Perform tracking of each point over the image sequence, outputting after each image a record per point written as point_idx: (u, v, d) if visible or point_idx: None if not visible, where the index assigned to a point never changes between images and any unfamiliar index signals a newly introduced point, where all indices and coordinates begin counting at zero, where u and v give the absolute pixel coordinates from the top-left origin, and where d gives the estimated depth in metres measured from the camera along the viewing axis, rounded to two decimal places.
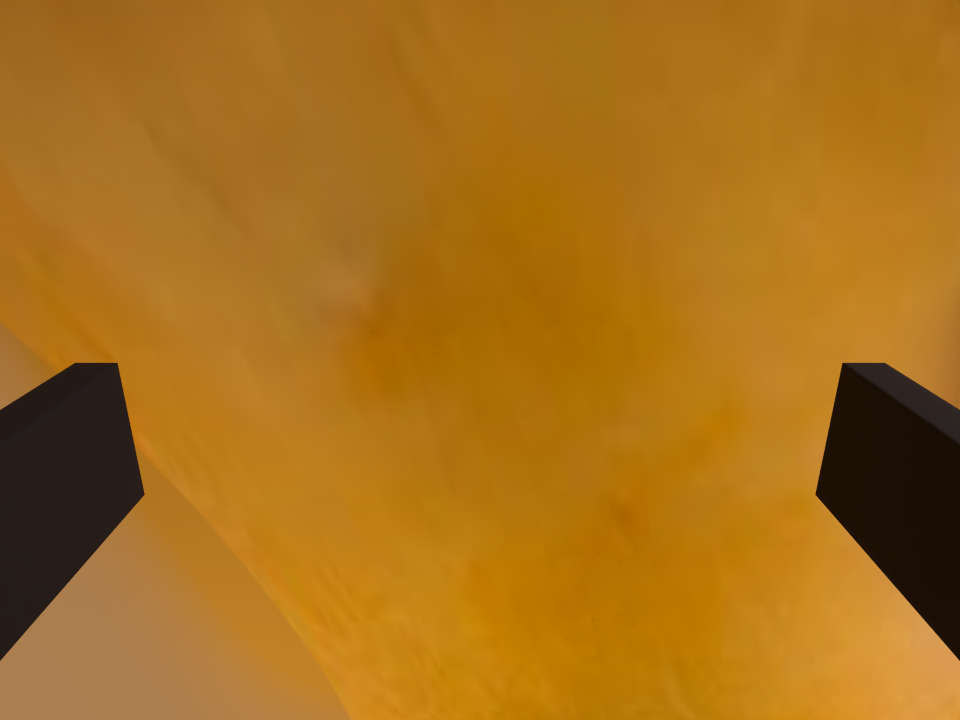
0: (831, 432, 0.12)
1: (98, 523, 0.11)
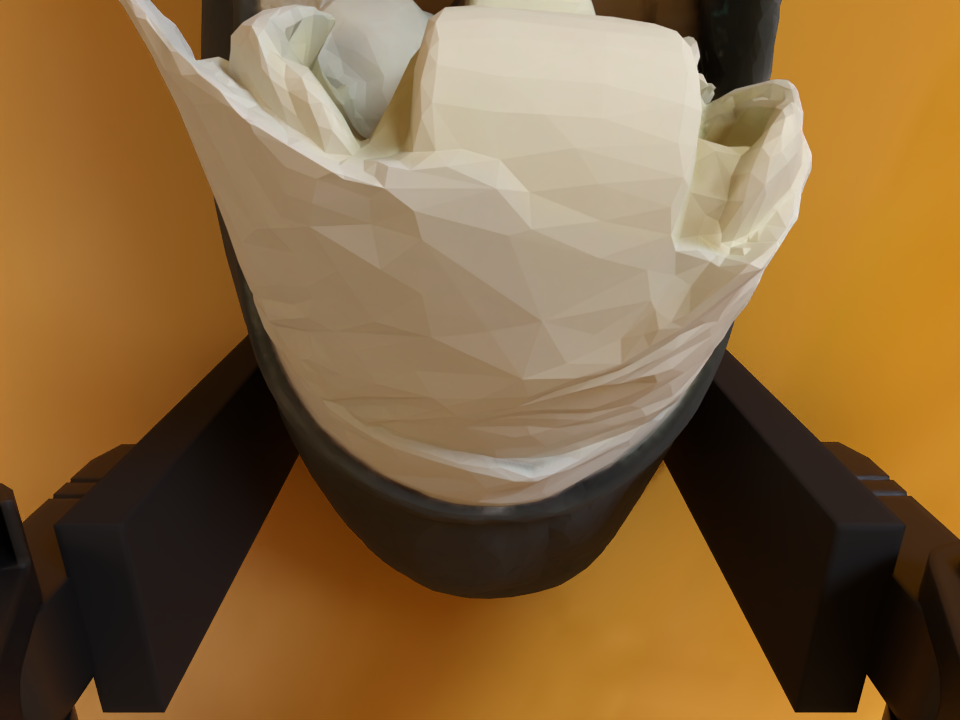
0: None
1: (277, 475, 0.13)
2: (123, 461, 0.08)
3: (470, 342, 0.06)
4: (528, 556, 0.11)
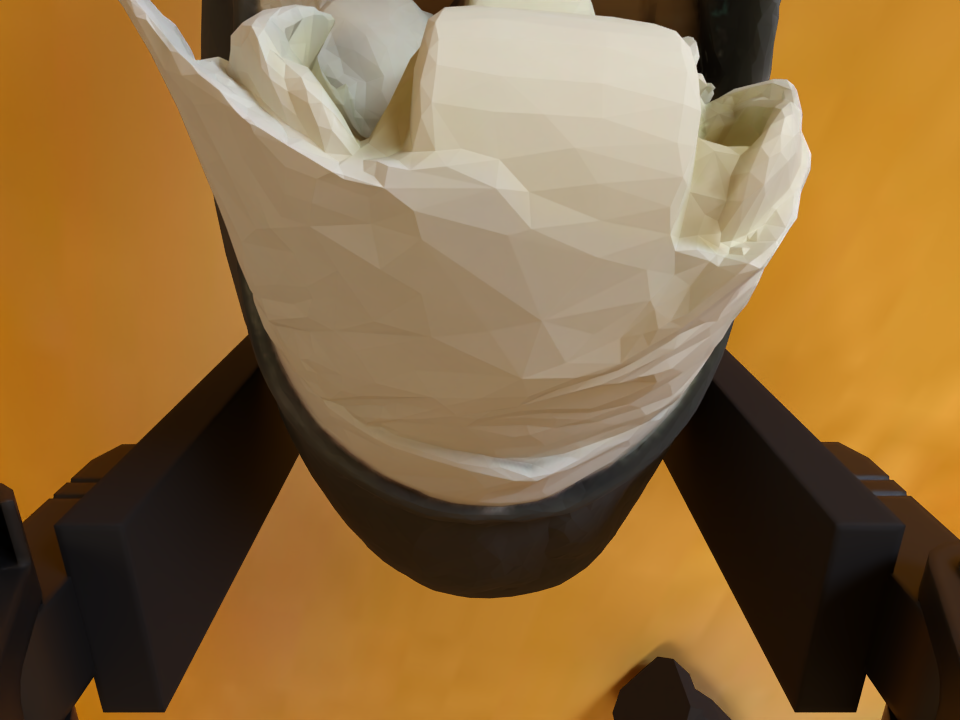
0: None
1: (277, 475, 0.13)
2: (123, 462, 0.08)
3: (470, 344, 0.06)
4: (528, 555, 0.11)
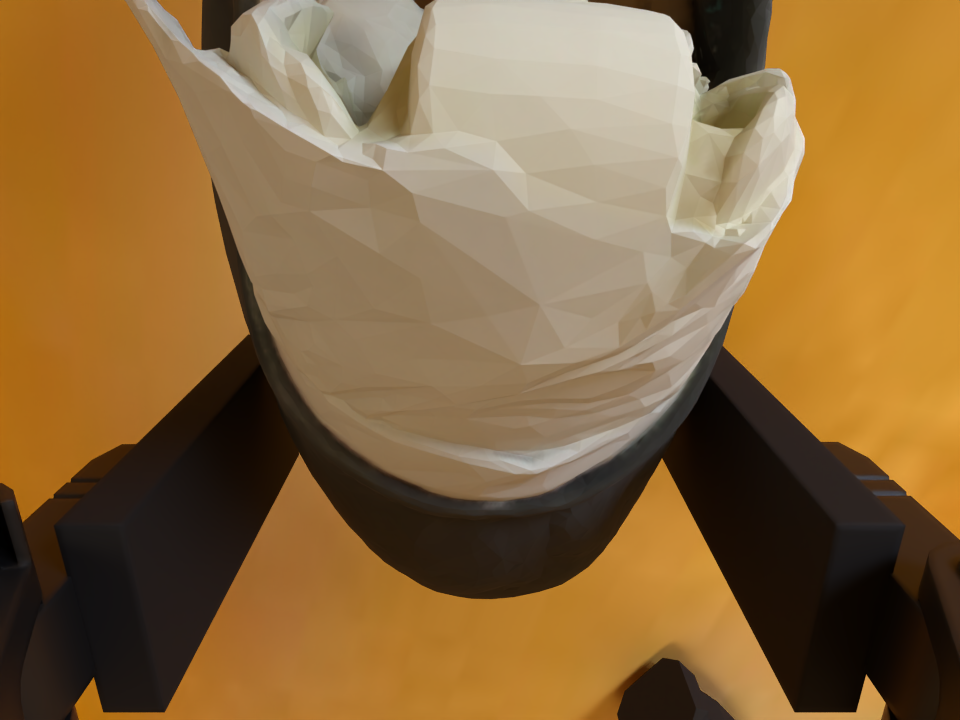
0: None
1: (277, 475, 0.13)
2: (123, 461, 0.08)
3: (469, 328, 0.06)
4: (530, 553, 0.11)
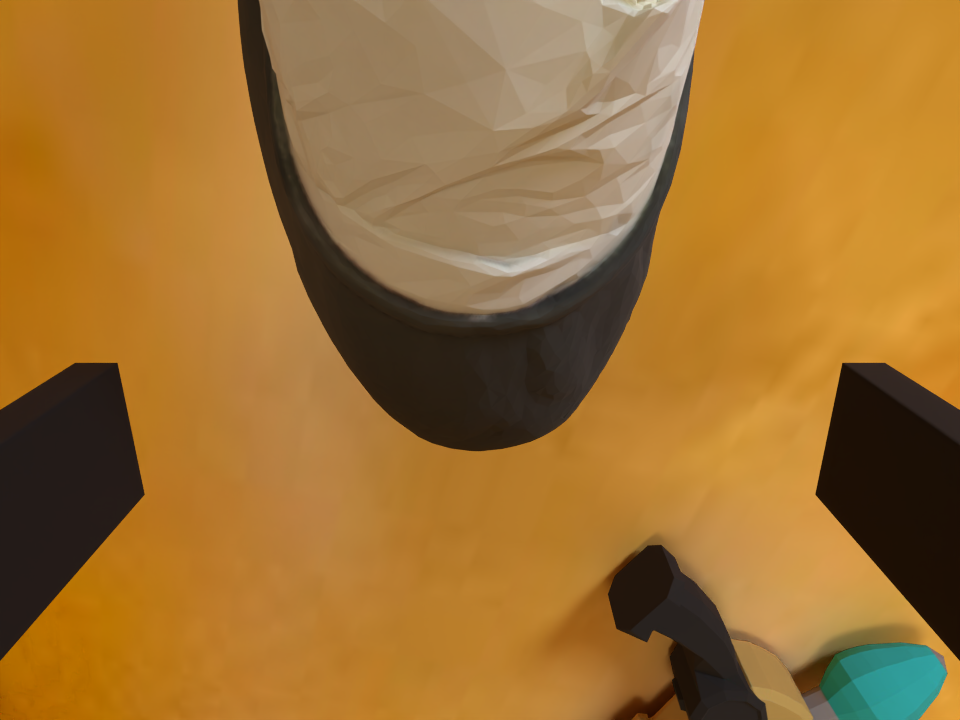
0: (831, 432, 0.12)
1: (98, 523, 0.11)
2: None
3: (453, 96, 0.08)
4: (511, 383, 0.13)
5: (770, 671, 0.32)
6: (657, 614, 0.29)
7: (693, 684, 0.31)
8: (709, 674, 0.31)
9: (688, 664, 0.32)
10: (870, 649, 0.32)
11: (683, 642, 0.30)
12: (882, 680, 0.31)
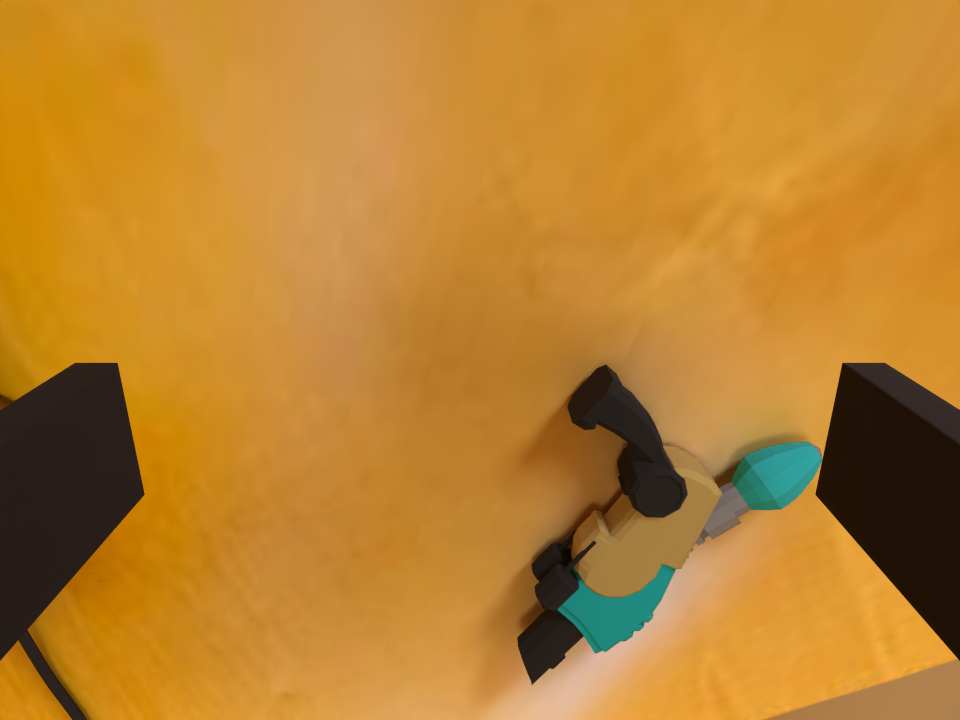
0: (830, 432, 0.12)
1: (98, 522, 0.11)
2: None
3: None
4: None
5: (691, 462, 0.42)
6: (601, 404, 0.39)
7: (632, 471, 0.42)
8: (643, 460, 0.41)
9: (629, 460, 0.42)
10: (766, 447, 0.43)
11: (622, 431, 0.40)
12: (773, 463, 0.41)
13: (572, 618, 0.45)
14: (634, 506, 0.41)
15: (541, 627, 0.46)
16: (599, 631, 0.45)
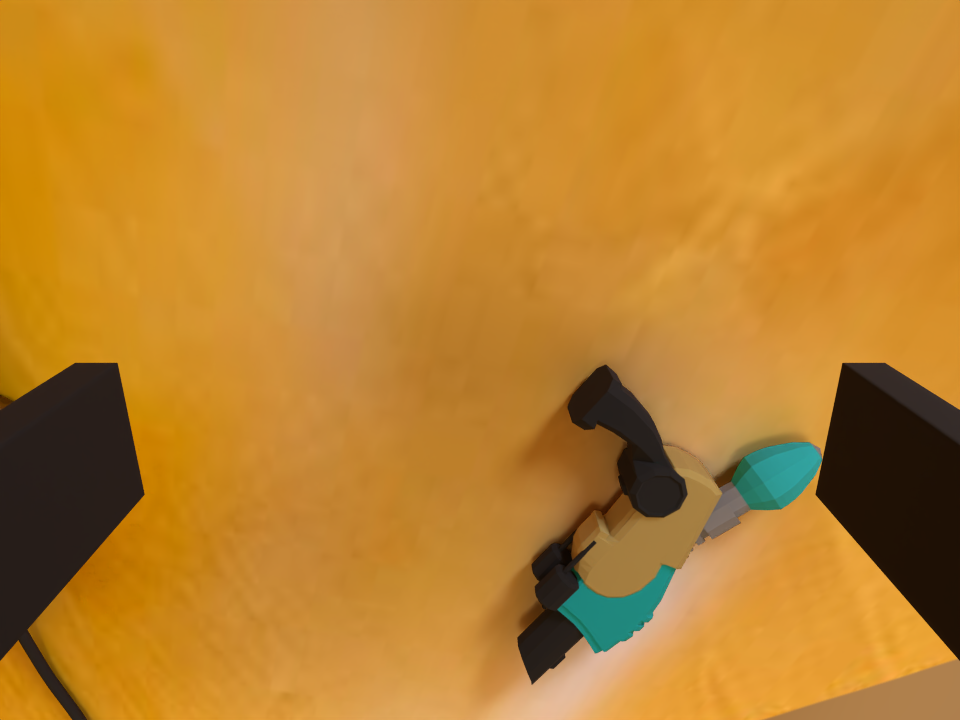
0: (830, 432, 0.12)
1: (98, 522, 0.11)
2: None
3: None
4: None
5: (691, 462, 0.42)
6: (601, 404, 0.39)
7: (632, 471, 0.42)
8: (643, 460, 0.41)
9: (629, 460, 0.42)
10: (766, 447, 0.43)
11: (622, 431, 0.40)
12: (773, 463, 0.41)
13: (572, 618, 0.45)
14: (634, 506, 0.41)
15: (541, 627, 0.46)
16: (599, 631, 0.45)
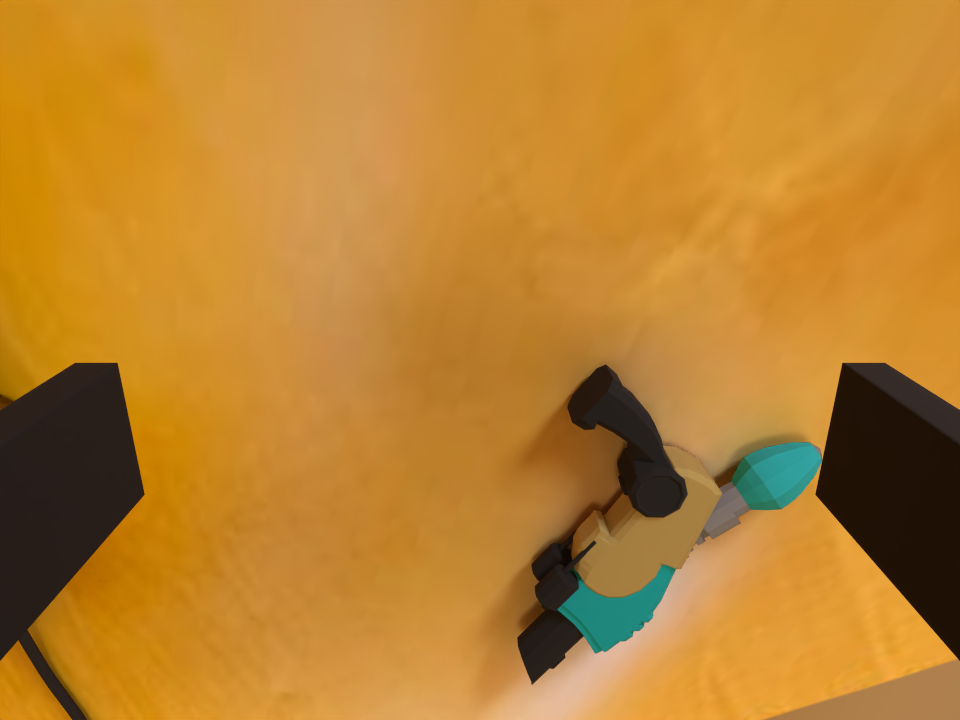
0: (830, 432, 0.12)
1: (98, 522, 0.11)
2: None
3: None
4: None
5: (691, 462, 0.42)
6: (601, 404, 0.39)
7: (632, 471, 0.42)
8: (643, 460, 0.41)
9: (629, 460, 0.42)
10: (766, 447, 0.43)
11: (622, 431, 0.40)
12: (773, 463, 0.41)
13: (572, 618, 0.45)
14: (634, 506, 0.41)
15: (541, 627, 0.46)
16: (599, 631, 0.45)
